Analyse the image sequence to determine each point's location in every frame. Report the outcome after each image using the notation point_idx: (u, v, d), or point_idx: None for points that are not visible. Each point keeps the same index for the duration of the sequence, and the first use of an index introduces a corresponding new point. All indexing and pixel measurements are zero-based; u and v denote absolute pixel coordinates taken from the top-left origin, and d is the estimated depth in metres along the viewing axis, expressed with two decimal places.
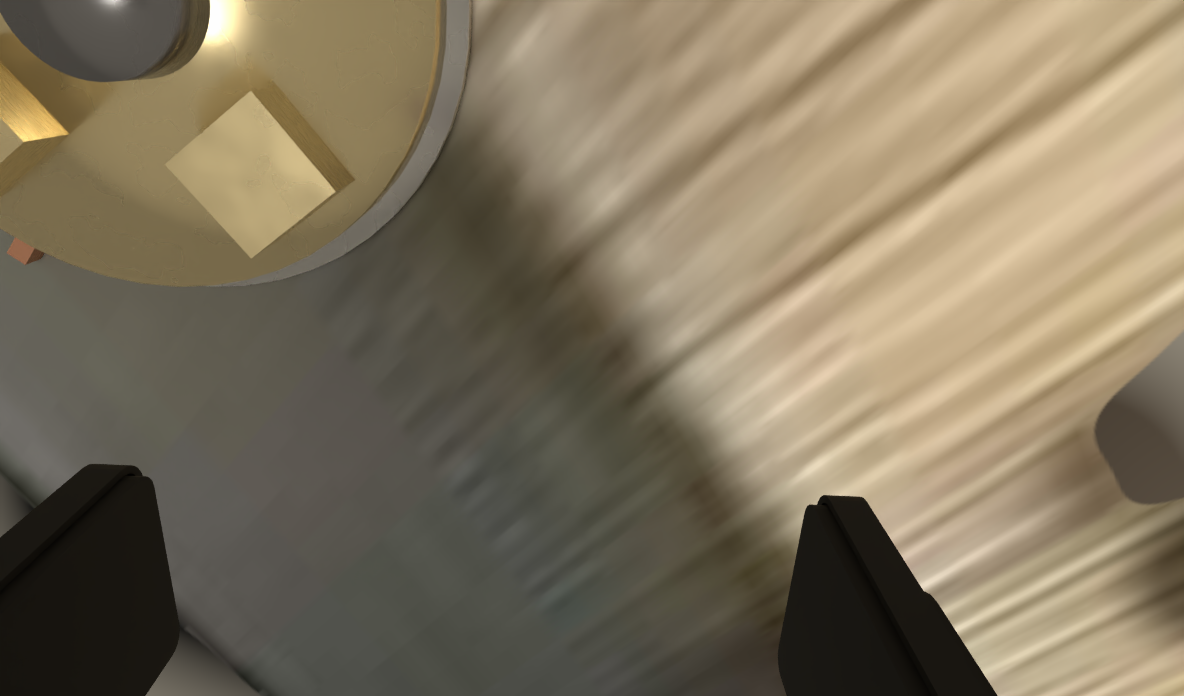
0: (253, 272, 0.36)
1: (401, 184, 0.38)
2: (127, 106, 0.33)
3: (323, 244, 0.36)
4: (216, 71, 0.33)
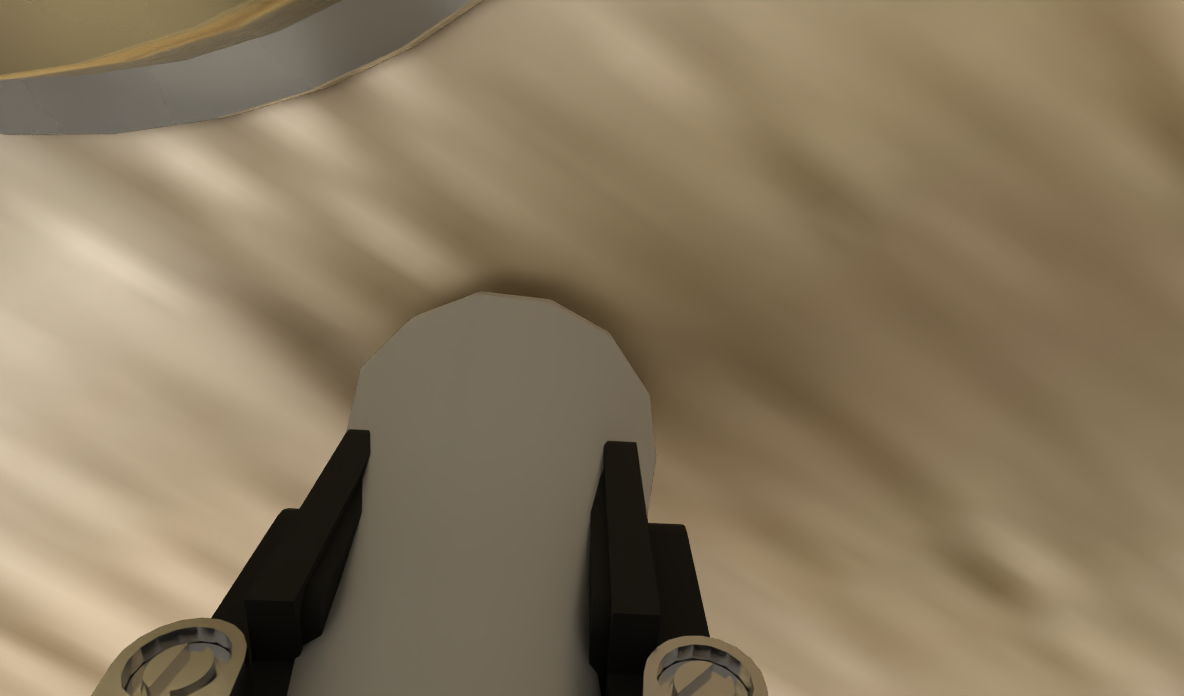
0: None
1: None
2: None
3: None
4: None
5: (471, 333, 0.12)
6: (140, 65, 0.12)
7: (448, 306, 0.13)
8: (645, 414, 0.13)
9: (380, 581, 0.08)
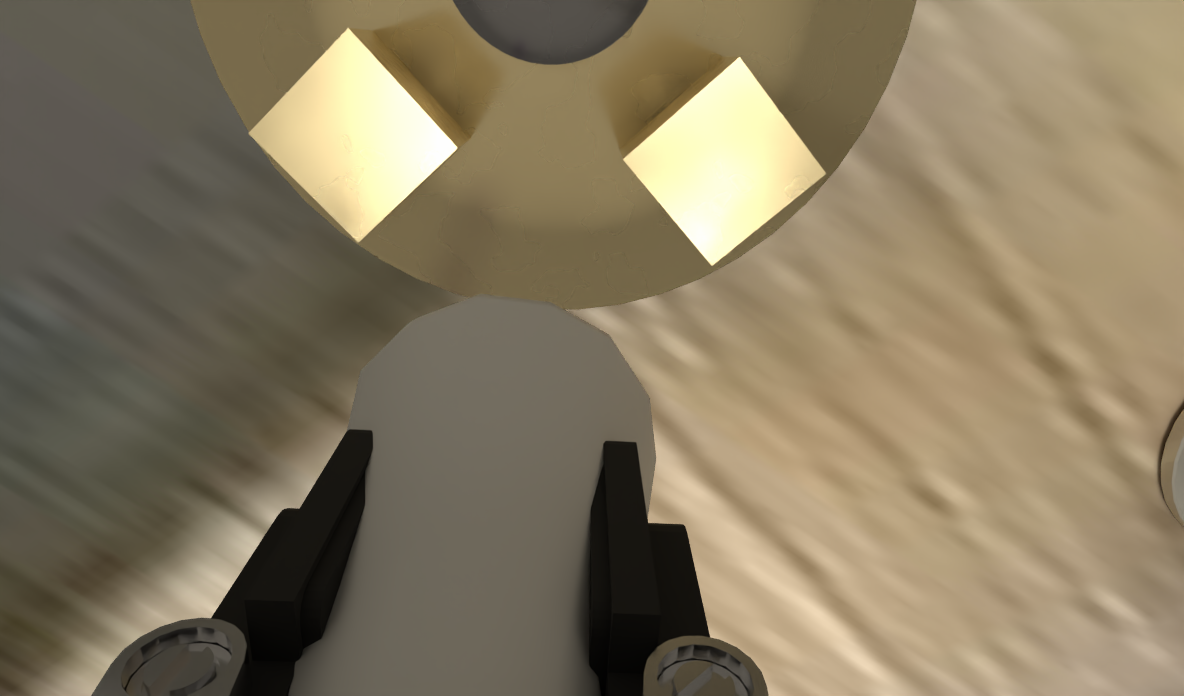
0: (232, 91, 0.28)
1: None
2: None
3: (292, 184, 0.29)
4: (477, 63, 0.27)
5: (470, 336, 0.12)
6: None
7: (448, 309, 0.13)
8: (645, 417, 0.13)
9: (379, 586, 0.08)
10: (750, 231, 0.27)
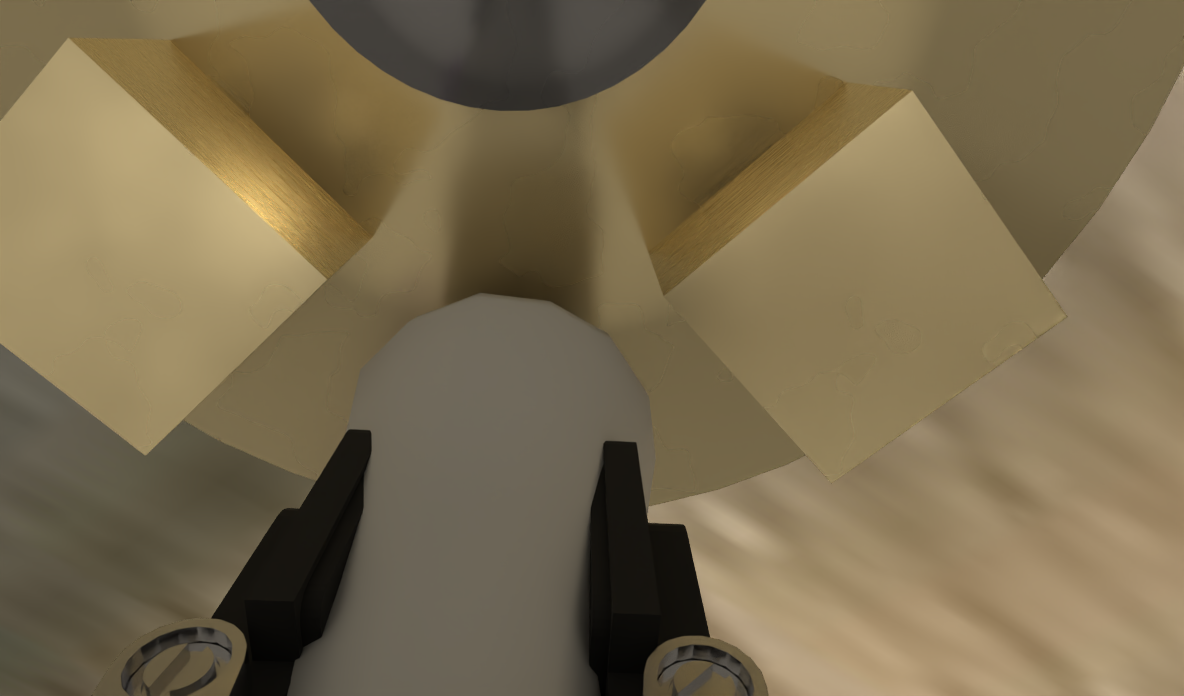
0: None
1: None
2: None
3: None
4: (377, 100, 0.14)
5: (470, 335, 0.12)
6: None
7: (447, 308, 0.13)
8: (644, 416, 0.13)
9: (379, 583, 0.08)
10: (909, 423, 0.14)
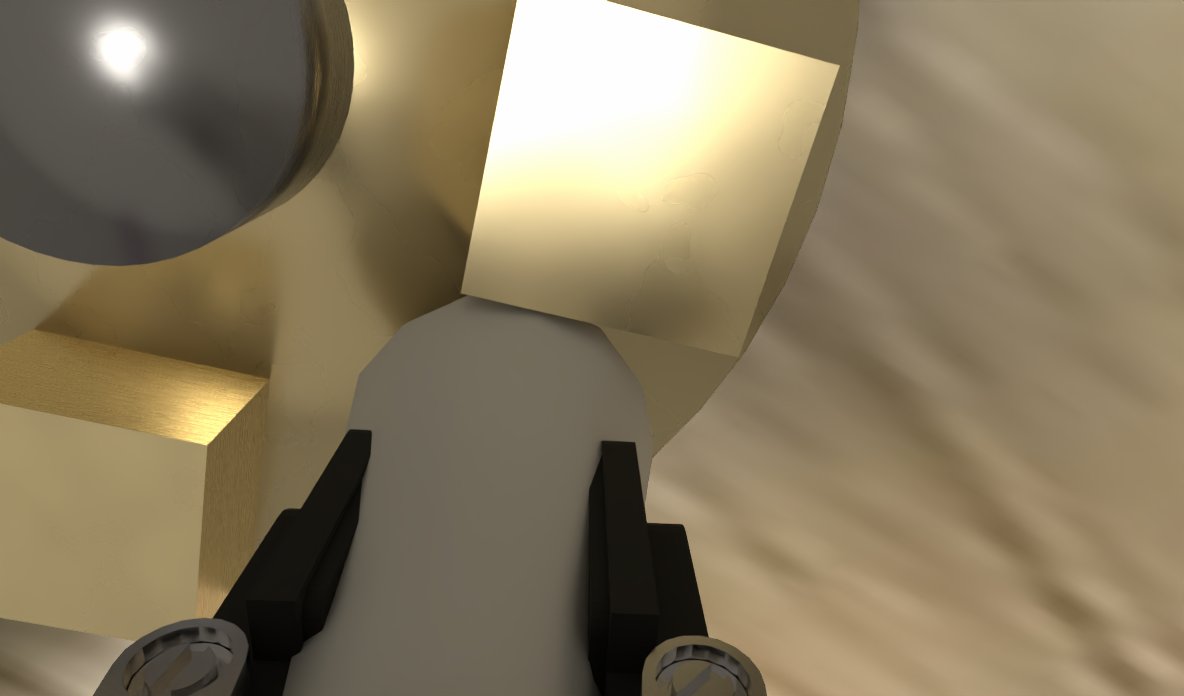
0: None
1: None
2: None
3: None
4: (194, 274, 0.16)
5: (462, 332, 0.12)
6: None
7: (441, 309, 0.13)
8: (639, 405, 0.13)
9: (375, 562, 0.08)
10: (766, 259, 0.13)
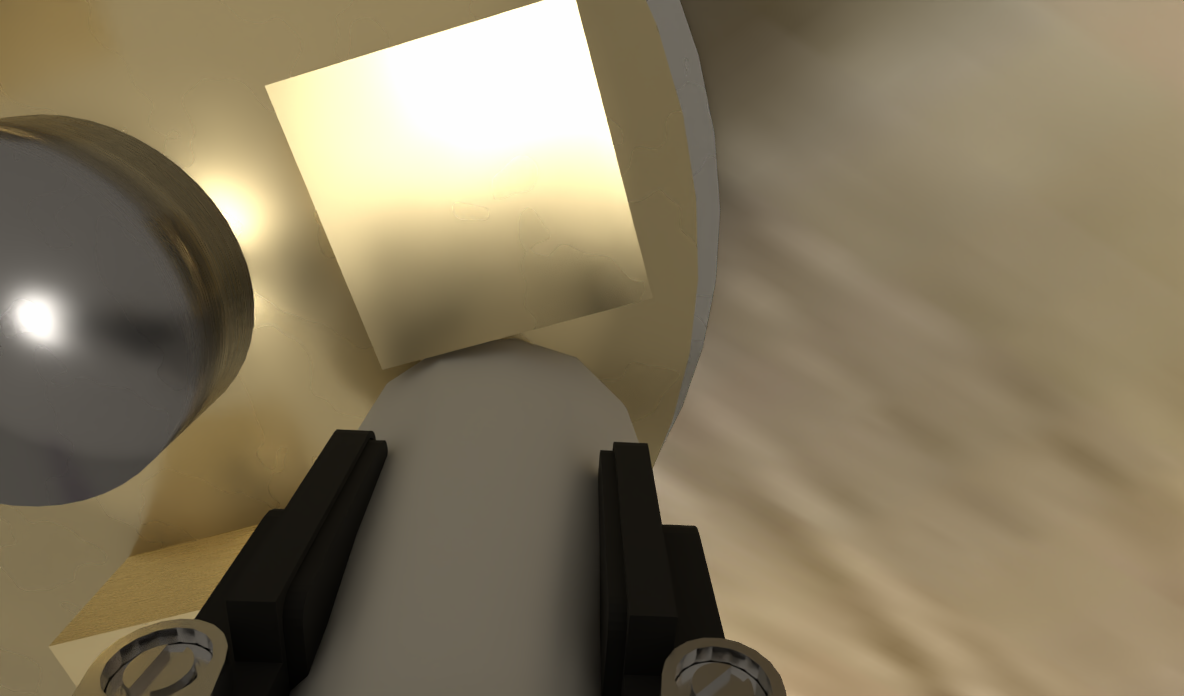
0: None
1: None
2: None
3: None
4: (213, 454, 0.17)
5: (438, 377, 0.13)
6: None
7: (420, 362, 0.14)
8: (622, 424, 0.14)
9: (361, 591, 0.09)
10: (621, 198, 0.12)
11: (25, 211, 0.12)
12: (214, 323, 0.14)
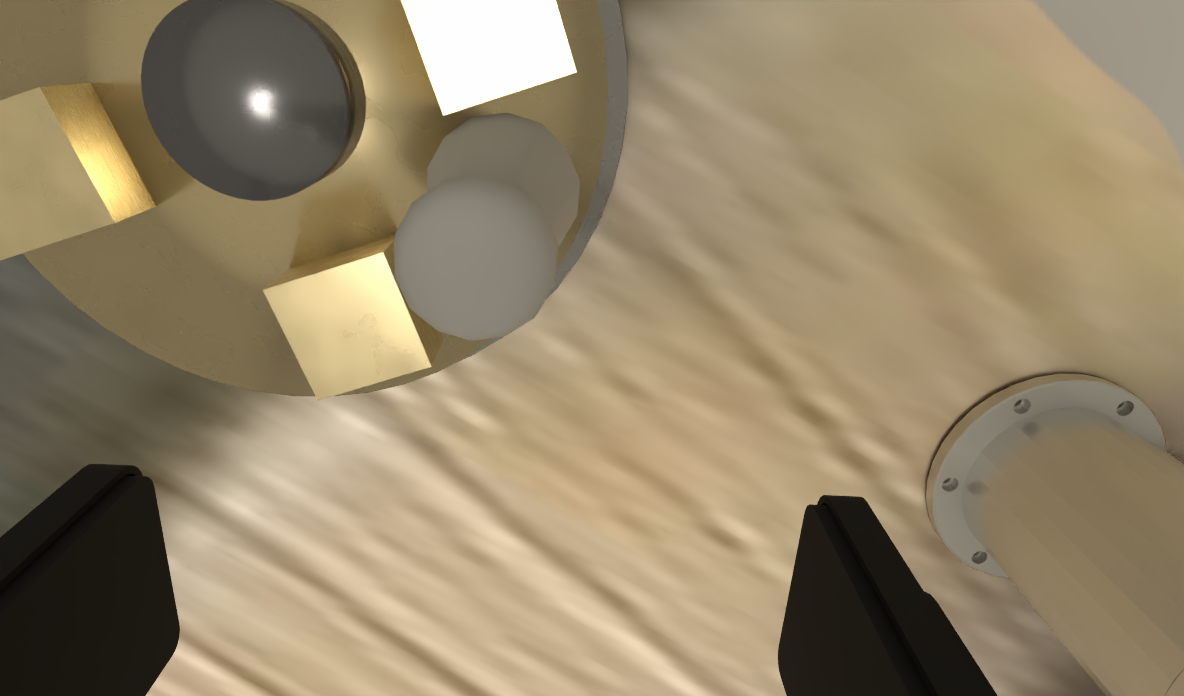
0: (302, 391, 0.34)
1: None
2: (231, 200, 0.31)
3: (386, 386, 0.34)
4: (340, 199, 0.31)
5: (471, 126, 0.26)
6: None
7: (460, 125, 0.27)
8: (564, 153, 0.27)
9: None
10: (558, 19, 0.26)
11: (271, 32, 0.26)
12: (353, 102, 0.28)
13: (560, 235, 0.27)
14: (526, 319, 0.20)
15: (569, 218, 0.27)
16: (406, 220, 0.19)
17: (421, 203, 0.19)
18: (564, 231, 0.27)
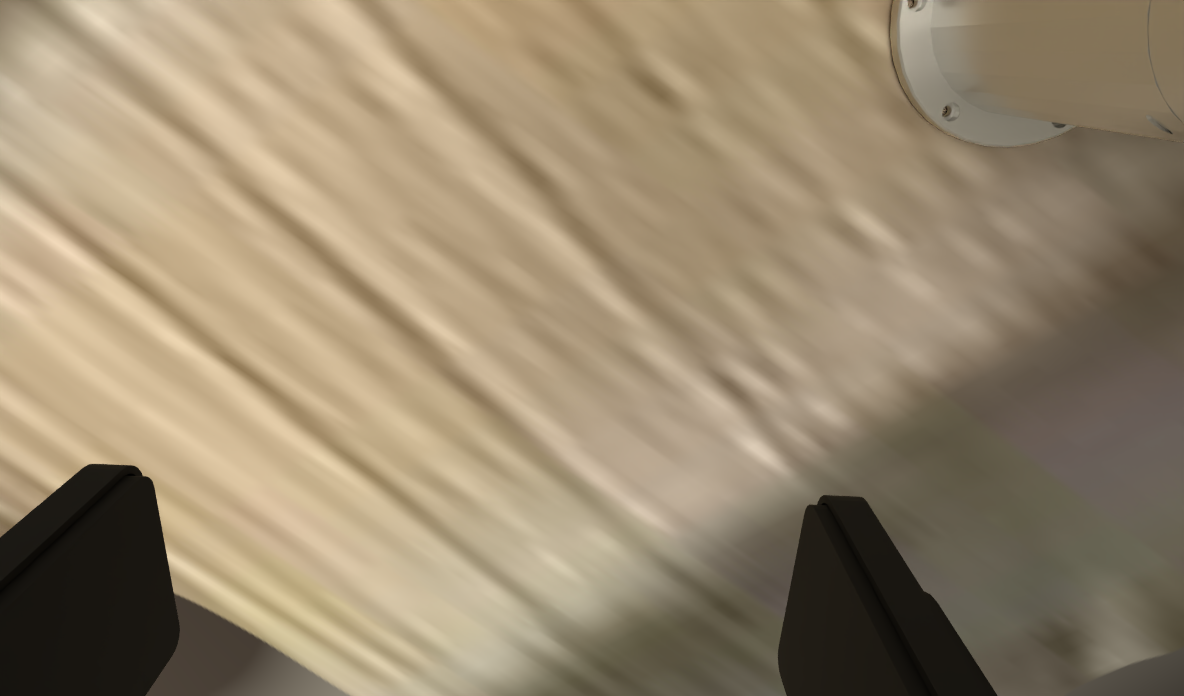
0: None
1: None
2: None
3: None
4: None
5: None
6: None
7: None
8: None
9: None
10: None
11: None
12: None
13: None
14: None
15: None
16: None
17: None
18: None
